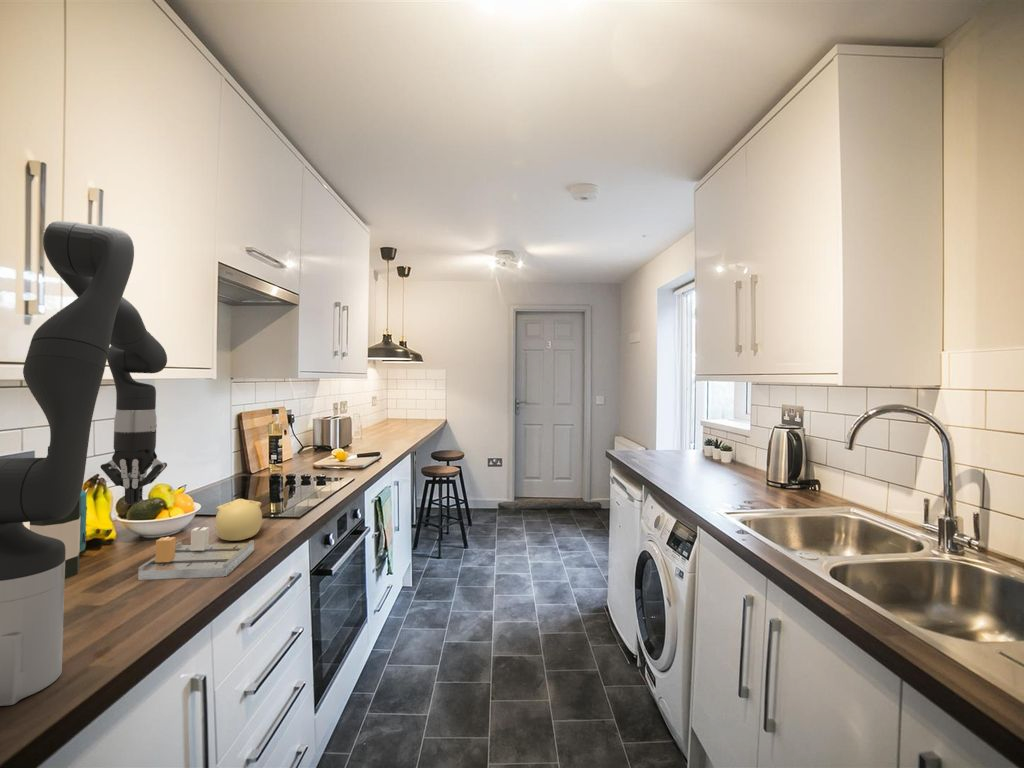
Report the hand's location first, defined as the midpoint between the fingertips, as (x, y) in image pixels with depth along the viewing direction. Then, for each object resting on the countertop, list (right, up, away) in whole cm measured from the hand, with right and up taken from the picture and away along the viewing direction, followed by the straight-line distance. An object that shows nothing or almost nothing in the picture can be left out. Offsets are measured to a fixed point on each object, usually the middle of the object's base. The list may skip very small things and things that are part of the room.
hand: (133, 503), depth 104 cm
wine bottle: (-15, -16, -3) cm, 22 cm away
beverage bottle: (-22, -15, +7) cm, 28 cm away
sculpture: (+9, -16, +25) cm, 31 cm away
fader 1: (+6, -14, +1) cm, 15 cm away
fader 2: (+9, -14, +9) cm, 19 cm away
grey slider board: (+12, -16, +6) cm, 21 cm away
